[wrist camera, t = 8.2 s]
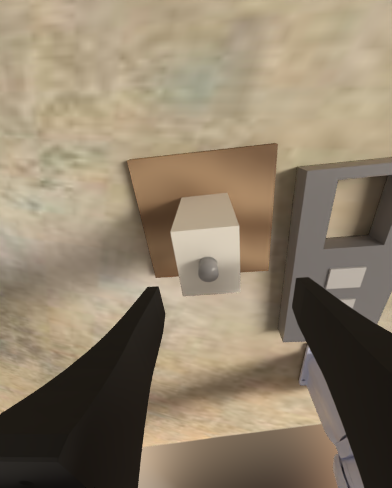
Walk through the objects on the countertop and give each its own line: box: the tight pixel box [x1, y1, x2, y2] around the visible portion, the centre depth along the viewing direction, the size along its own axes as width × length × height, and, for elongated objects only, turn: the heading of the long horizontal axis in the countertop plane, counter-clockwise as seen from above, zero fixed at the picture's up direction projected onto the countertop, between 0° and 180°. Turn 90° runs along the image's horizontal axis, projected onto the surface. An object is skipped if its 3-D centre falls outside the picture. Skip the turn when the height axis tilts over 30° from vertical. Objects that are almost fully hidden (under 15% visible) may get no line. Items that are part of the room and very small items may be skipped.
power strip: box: [278, 157, 392, 342], centre depth 21 cm, size 20×10×3 cm, turn 6°
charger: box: [170, 193, 241, 296], centre depth 16 cm, size 5×4×8 cm
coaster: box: [127, 143, 278, 278], centre depth 20 cm, size 12×12×1 cm
